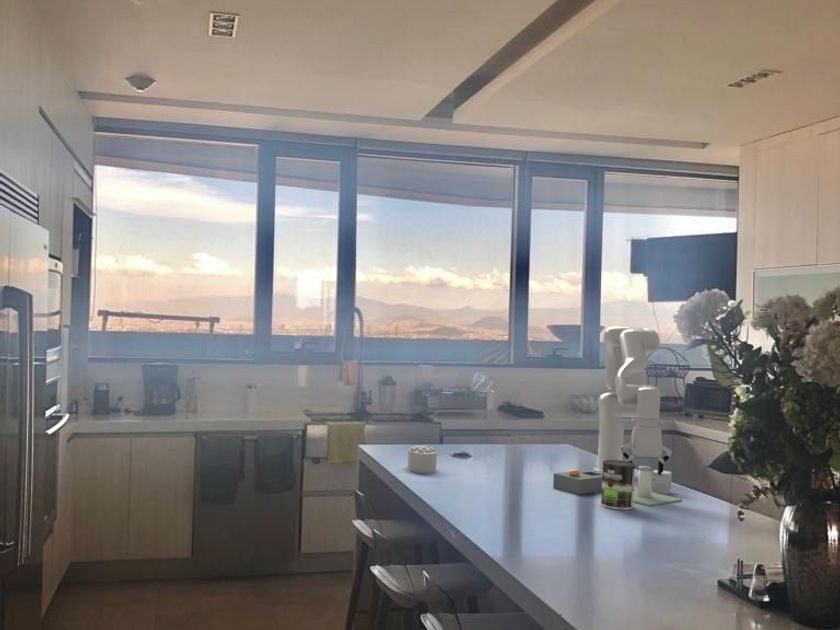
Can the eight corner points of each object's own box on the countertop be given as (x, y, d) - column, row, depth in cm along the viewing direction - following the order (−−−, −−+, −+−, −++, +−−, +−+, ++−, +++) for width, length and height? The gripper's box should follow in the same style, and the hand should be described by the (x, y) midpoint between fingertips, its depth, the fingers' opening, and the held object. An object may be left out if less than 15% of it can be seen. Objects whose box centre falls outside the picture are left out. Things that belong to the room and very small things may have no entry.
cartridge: (636, 494, 285) (638, 465, 285) (649, 495, 284) (651, 466, 284) (638, 497, 280) (639, 467, 280) (651, 498, 280) (653, 468, 280)
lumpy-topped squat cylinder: (431, 466, 321) (432, 444, 321) (439, 473, 309) (440, 450, 309) (405, 466, 319) (406, 444, 319) (411, 473, 306) (412, 449, 306)
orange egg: (573, 485, 293) (574, 468, 293) (581, 487, 290) (581, 470, 290) (566, 486, 291) (567, 469, 291) (574, 488, 288) (574, 471, 288)
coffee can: (623, 511, 260) (625, 466, 260) (594, 505, 267) (596, 461, 267) (639, 507, 268) (641, 463, 268) (610, 501, 275) (613, 458, 275)
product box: (650, 492, 293) (651, 471, 293) (653, 489, 299) (654, 469, 299) (668, 494, 290) (669, 473, 290) (671, 491, 296) (672, 471, 296)
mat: (638, 490, 295) (638, 488, 295) (682, 501, 281) (682, 499, 281) (605, 495, 284) (605, 493, 284) (649, 506, 270) (649, 504, 270)
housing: (587, 483, 303) (587, 469, 303) (613, 489, 294) (613, 475, 294) (553, 487, 293) (553, 473, 293) (578, 494, 283) (579, 479, 283)
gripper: (671, 423, 285) (669, 473, 285) (620, 420, 287) (617, 469, 287) (675, 426, 277) (672, 477, 277) (622, 423, 280) (620, 473, 280)
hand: (644, 473), depth 282 cm, fingers open, 9 cm apart
